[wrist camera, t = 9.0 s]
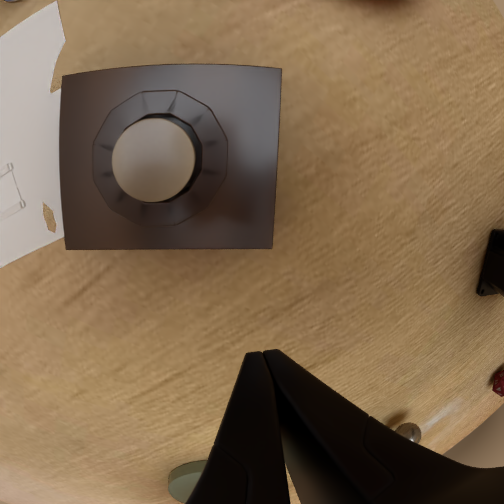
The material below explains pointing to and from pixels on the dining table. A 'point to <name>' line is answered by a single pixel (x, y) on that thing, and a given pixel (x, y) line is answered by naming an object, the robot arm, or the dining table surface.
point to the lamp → (184, 480)
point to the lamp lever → (410, 431)
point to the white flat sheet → (29, 134)
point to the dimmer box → (206, 146)
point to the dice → (499, 383)
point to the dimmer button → (153, 159)
